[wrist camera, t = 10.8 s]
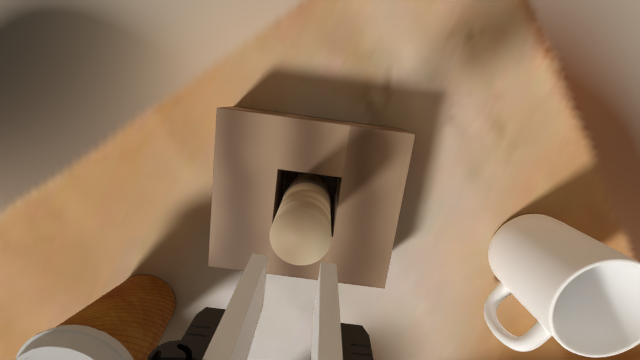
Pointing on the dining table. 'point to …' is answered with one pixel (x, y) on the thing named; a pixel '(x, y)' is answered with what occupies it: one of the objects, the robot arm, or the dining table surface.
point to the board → (317, 158)
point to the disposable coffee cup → (110, 325)
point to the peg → (303, 221)
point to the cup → (564, 287)
